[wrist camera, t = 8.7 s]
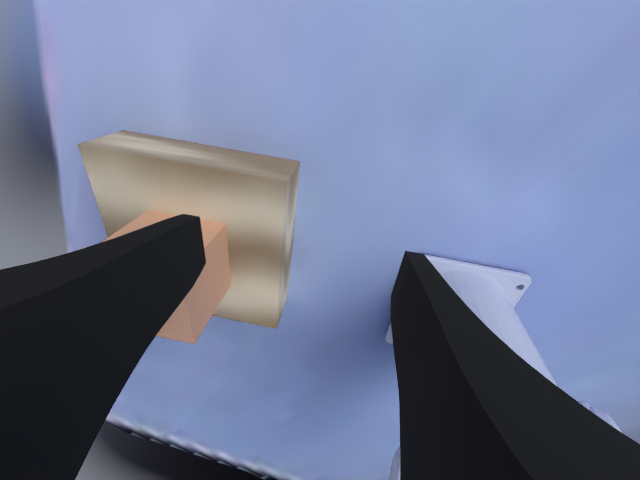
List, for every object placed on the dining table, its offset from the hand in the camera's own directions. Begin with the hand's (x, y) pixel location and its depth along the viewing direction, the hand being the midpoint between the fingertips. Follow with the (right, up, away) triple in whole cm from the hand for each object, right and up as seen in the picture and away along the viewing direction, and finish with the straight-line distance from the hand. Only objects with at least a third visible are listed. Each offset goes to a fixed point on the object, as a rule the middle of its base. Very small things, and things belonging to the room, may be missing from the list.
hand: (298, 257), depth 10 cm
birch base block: (-7, +2, +12) cm, 14 cm away
